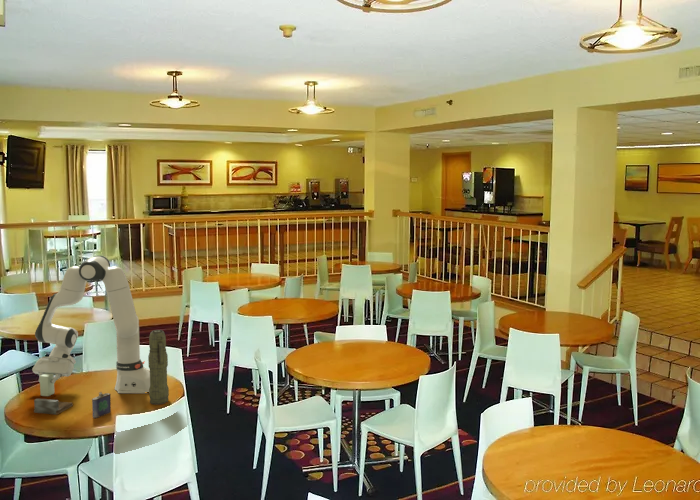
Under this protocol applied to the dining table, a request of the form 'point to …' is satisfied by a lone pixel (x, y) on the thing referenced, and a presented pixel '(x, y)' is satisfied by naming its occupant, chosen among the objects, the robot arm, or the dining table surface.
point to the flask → (101, 405)
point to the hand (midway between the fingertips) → (46, 382)
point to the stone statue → (158, 368)
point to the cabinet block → (46, 384)
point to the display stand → (50, 406)
